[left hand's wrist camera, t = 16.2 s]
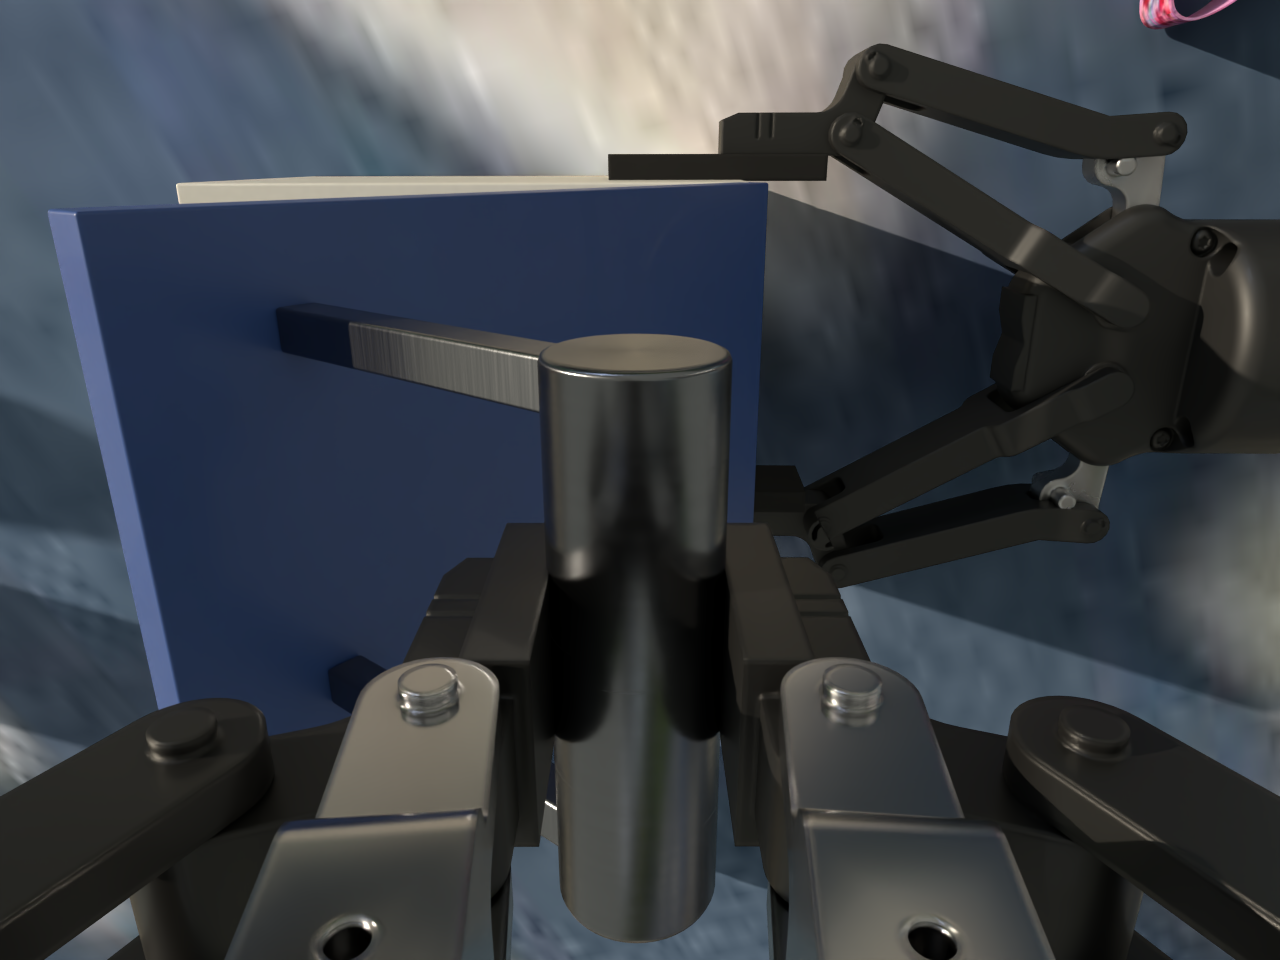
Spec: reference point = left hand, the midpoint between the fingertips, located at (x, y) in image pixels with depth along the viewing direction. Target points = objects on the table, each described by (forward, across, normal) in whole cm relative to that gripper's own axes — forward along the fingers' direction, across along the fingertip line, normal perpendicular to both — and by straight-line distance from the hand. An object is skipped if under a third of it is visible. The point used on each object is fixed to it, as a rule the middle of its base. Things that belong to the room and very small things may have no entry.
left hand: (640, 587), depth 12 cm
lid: (+8, -3, 0) cm, 8 cm away
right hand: (+18, -1, 0) cm, 18 cm away
